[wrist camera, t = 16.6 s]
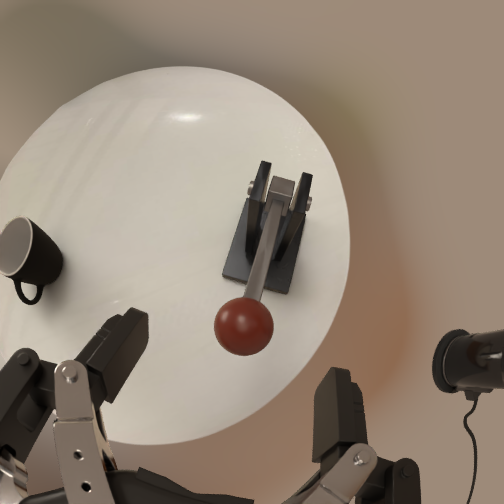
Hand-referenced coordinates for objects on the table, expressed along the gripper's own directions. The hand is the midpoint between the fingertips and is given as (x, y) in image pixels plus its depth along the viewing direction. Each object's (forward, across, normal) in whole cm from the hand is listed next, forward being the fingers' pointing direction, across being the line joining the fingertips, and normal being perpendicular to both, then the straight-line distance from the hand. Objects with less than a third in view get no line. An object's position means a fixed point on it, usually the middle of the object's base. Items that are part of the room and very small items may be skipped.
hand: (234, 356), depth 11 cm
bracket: (+28, 0, +7) cm, 29 cm away
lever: (+12, 0, +2) cm, 12 cm away
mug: (+18, +32, +18) cm, 41 cm away
